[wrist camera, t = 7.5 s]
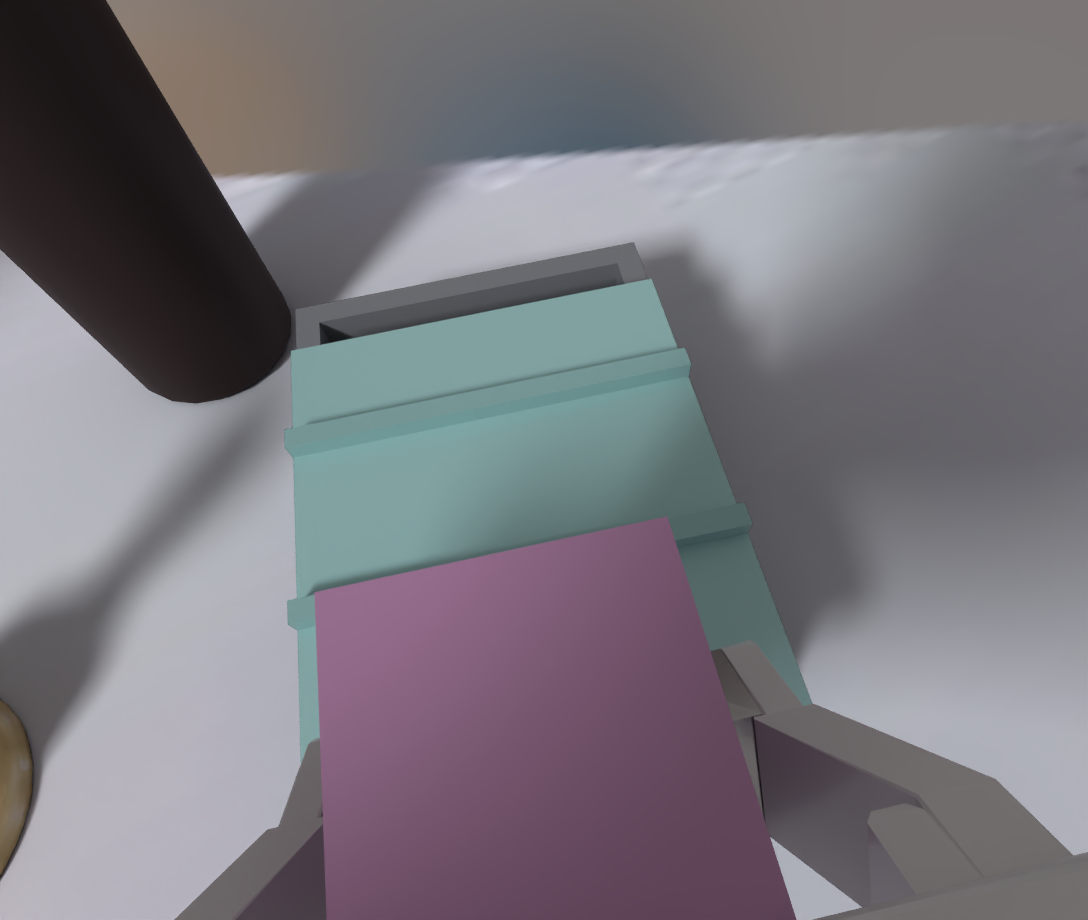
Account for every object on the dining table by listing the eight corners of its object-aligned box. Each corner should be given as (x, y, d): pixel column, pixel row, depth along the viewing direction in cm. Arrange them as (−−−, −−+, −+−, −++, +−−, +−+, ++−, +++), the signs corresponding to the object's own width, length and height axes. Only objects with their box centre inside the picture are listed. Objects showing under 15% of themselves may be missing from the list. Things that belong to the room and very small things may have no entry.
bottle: (162, 285, 30) (-435, -444, 13) (307, 278, 30) (-102, -483, 12) (118, 411, 27) (-762, -331, 9) (279, 404, 27) (-325, -380, 9)
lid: (298, 362, 21) (65, 6, 12) (649, 291, 22) (695, -105, 12) (315, 937, 14) (-251, 1202, 5) (843, 812, 14) (1318, 820, 5)
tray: (341, 387, 27) (295, 309, 23) (627, 329, 27) (633, 242, 23) (371, 826, 19) (310, 831, 15) (764, 736, 20) (811, 716, 16)
